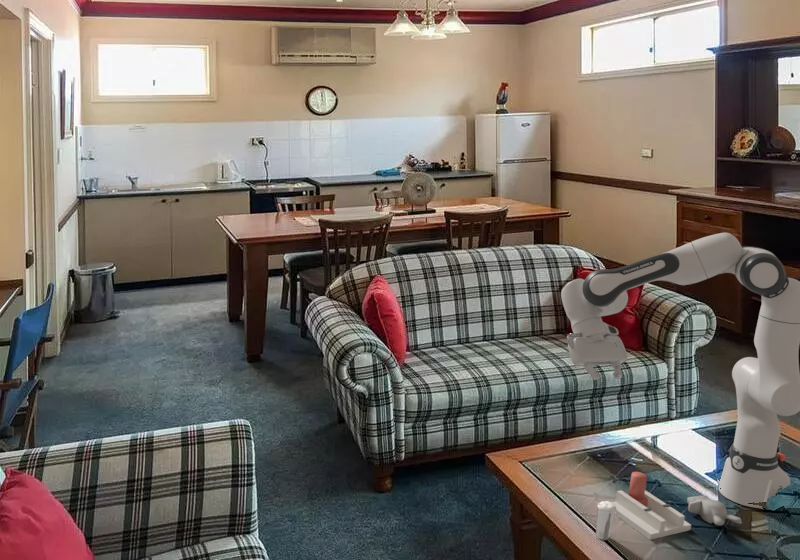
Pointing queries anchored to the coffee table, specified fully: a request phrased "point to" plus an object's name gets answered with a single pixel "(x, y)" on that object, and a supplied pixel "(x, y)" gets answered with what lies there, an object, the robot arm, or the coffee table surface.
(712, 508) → the bunny figurine
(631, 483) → the red plug
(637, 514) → the white slider track base
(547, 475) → the coffee table surface
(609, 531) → the milkshake
